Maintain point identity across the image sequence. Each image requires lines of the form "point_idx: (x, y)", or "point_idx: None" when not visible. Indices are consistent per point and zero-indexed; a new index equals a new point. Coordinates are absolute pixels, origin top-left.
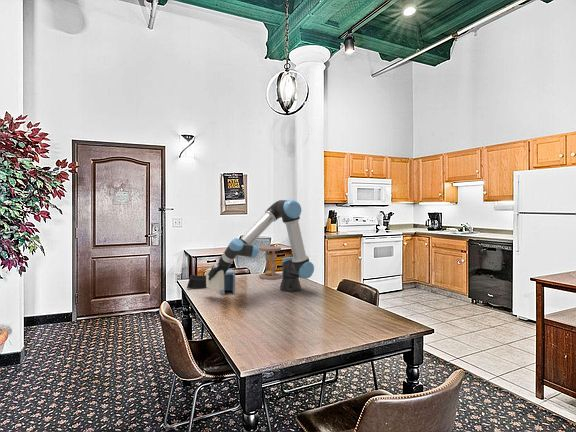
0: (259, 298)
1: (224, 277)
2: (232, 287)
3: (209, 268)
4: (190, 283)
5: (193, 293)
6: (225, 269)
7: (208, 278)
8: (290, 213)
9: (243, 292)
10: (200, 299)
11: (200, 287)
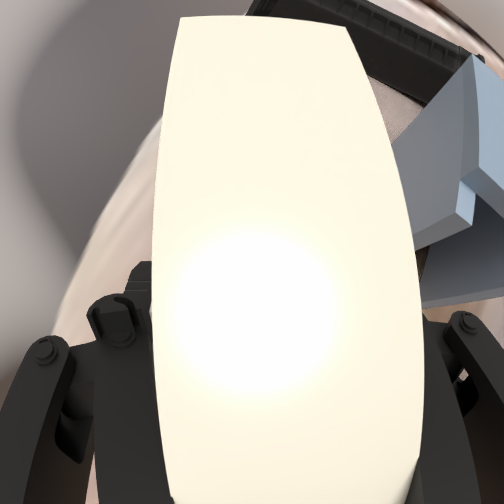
0: None
1: (454, 233)
2: (450, 253)
3: (287, 28)
4: (263, 3)
5: None
6: (491, 494)
7: (131, 280)
8: None
9: (470, 302)
10: (139, 255)
11: None
